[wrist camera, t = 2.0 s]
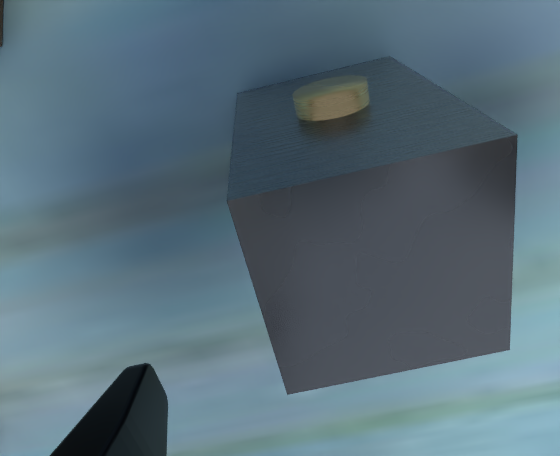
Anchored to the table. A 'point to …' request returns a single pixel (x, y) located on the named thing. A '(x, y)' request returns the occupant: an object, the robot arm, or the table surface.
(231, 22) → the table surface
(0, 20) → the shaft stand
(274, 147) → the coupling block
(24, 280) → the table surface
